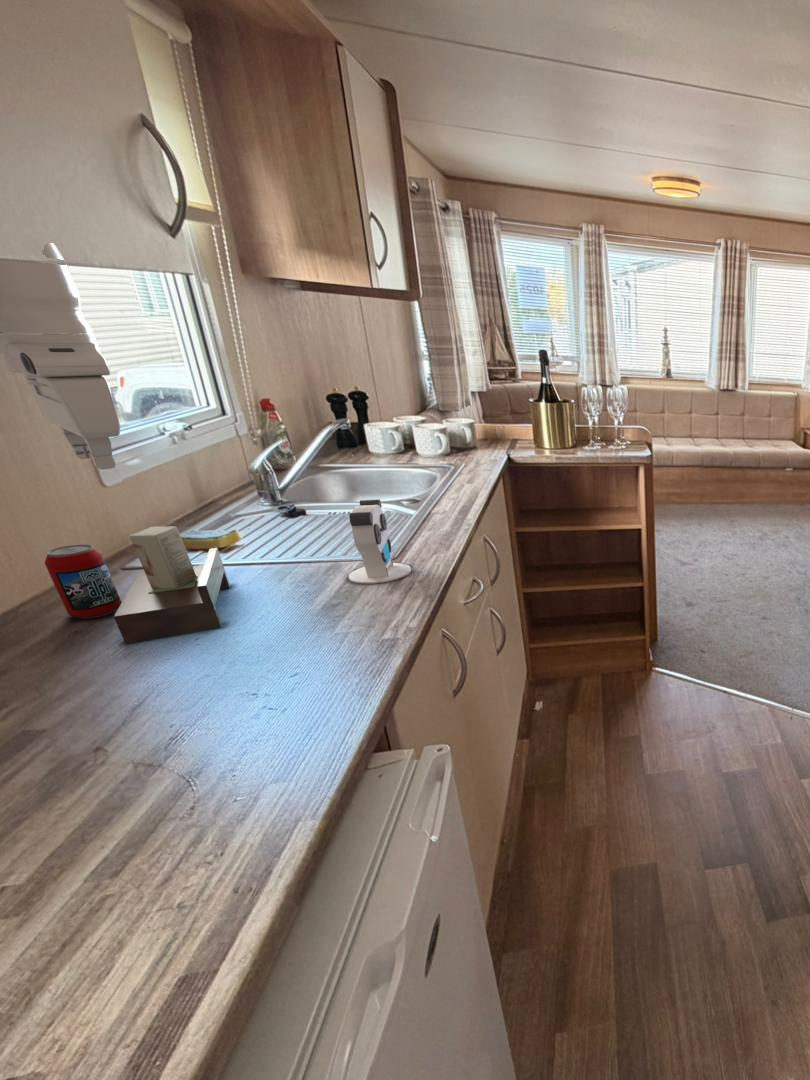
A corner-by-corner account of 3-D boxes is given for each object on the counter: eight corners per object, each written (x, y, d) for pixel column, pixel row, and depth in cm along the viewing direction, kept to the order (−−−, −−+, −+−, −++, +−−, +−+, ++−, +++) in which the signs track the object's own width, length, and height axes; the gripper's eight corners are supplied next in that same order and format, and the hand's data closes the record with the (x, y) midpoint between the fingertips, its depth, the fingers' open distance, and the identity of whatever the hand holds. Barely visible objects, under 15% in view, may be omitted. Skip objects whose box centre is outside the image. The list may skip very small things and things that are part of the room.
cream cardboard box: (172, 578, 116) (152, 525, 112) (198, 578, 117) (179, 525, 113) (148, 589, 111) (126, 534, 107) (176, 589, 112) (155, 535, 108)
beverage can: (88, 623, 110) (59, 558, 105) (59, 617, 111) (29, 553, 106) (134, 607, 116) (108, 545, 111) (106, 602, 117) (79, 541, 112)
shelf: (125, 644, 104) (106, 599, 101) (147, 597, 120) (131, 557, 117) (221, 627, 111) (206, 585, 108) (230, 585, 127) (217, 547, 124)
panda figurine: (406, 581, 132) (391, 512, 126) (342, 587, 128) (323, 515, 122) (414, 562, 143) (401, 497, 136) (355, 566, 139) (338, 499, 132)
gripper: (-2, 351, 85) (43, 455, 91) (36, 363, 75) (84, 478, 81) (66, 351, 90) (105, 449, 96) (110, 361, 80) (150, 470, 86)
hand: (96, 462), depth 88 cm, fingers open, 8 cm apart
